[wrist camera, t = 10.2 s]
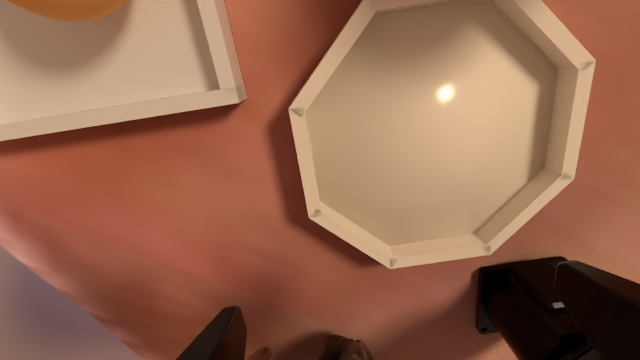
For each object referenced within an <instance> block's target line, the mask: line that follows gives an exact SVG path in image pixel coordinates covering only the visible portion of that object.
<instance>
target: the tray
mask: <svg viewBox="0 0 640 360" xmlns="http://www.w3.org/2000/svg"><path fill="white" fill-rule="evenodd" d="M246 98H247V97H246V93H245V88H244V84H243V80H242V76H241V71H240V67H239V63H238V59H237V54H236V50H235V46H234V42H233V38H232V33H231V29H230V25H229V21H228V16H227V12H226V8H225V4H224V0H125V1H124V2H123V3H122V4H121V5H120V6H119V7H118V8H117V9H116V10H114V11H112V12H111V13H109V14H108V15H105V16H103V17H101V18H97V19H93V20H88V21H62V20H56V19H51V18H47V17H44V16H41V15H37V14H34V13H32V12H30V11H27V10H25V9H23V8H21V7H18V6H16V5H14V4H13V3H11V2H9V1H7V0H0V141H4V140H11V139H17V138H23V137H29V136H36V135H42V134H48V133H54V132H61V131H67V130H73V129H79V128H86V127H92V126H98V125H104V124H111V123H117V122H123V121H129V120H136V119H142V118H148V117H154V116H161V115H167V114H173V113H179V112H186V111H192V110H198V109H204V108H211V107H217V106H223V105H229V104H236V103H240V102H242V101H243V100H245V99H246Z"/></svg>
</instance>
